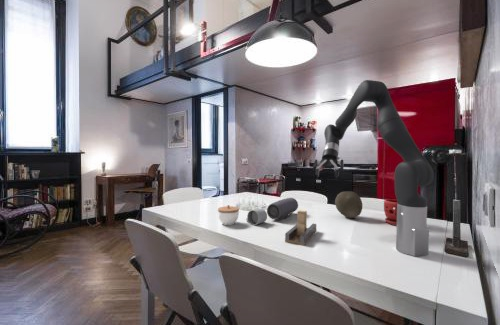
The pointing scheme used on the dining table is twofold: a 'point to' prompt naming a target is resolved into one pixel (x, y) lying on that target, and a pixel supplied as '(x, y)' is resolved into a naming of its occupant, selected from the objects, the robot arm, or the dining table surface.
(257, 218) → the ceramic mug
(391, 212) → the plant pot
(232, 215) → the lidded jar
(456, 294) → the dining table surface
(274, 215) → the bluetooth speaker
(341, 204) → the cantaloupe
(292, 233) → the door track
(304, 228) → the light brown wooden block
